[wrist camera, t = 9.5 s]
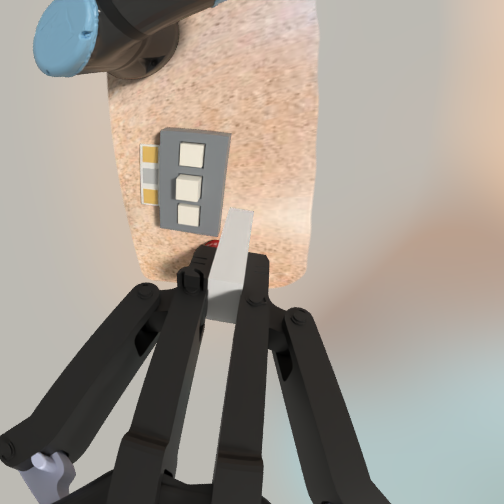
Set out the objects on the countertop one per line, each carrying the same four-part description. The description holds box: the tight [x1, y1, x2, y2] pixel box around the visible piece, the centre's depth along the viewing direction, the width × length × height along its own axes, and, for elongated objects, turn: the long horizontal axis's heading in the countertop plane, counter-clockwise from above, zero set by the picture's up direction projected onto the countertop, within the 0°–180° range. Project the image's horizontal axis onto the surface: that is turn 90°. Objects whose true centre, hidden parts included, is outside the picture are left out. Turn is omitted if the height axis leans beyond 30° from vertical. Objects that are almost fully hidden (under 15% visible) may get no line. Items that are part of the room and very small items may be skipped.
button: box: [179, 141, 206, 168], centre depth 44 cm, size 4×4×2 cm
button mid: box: [176, 174, 202, 202], centre depth 46 cm, size 4×4×2 cm
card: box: [140, 144, 160, 206], centre depth 49 cm, size 13×4×1 cm, turn 171°
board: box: [159, 127, 231, 237], centre depth 48 cm, size 20×12×3 cm, turn 171°
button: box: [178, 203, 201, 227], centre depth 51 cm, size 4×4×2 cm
